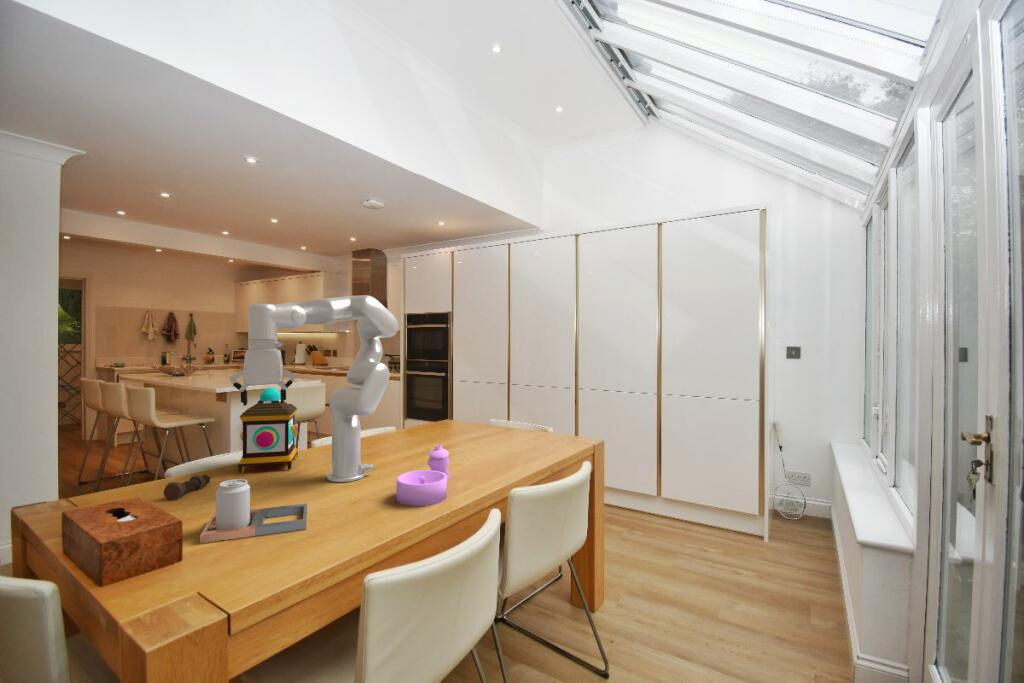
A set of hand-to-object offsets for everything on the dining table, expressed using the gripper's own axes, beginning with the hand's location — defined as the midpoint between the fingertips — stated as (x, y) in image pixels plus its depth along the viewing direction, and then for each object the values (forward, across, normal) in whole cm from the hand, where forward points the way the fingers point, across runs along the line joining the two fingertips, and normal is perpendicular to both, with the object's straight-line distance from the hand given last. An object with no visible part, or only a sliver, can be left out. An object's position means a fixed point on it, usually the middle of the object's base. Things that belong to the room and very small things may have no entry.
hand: (264, 403), depth 137 cm
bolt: (+30, +22, -20) cm, 42 cm away
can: (+29, +6, +18) cm, 35 cm away
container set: (+31, -47, +8) cm, 56 cm away
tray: (+29, 0, +18) cm, 34 cm away
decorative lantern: (+30, +2, -43) cm, 53 cm away
